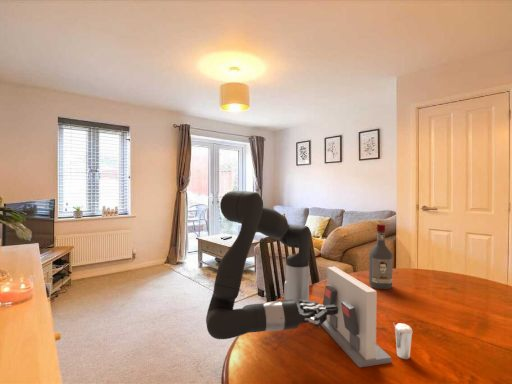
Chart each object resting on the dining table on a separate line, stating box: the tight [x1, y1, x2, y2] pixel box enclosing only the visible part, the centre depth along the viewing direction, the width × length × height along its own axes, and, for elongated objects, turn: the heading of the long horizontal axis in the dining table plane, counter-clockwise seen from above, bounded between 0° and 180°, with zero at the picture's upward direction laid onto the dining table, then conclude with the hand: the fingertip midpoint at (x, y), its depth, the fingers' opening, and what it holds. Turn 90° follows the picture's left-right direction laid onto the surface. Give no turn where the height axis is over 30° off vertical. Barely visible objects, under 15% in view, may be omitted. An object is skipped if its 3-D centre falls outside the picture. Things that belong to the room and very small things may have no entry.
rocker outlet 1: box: [322, 285, 337, 306], centre depth 97 cm, size 2×5×8 cm, turn 13°
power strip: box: [320, 266, 392, 368], centre depth 92 cm, size 10×25×20 cm, turn 12°
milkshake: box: [393, 322, 413, 360], centre depth 84 cm, size 4×5×10 cm
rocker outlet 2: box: [341, 301, 359, 336], centre depth 85 cm, size 2×5×8 cm, turn 12°
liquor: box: [368, 223, 393, 290], centre depth 140 cm, size 9×9×30 cm
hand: (336, 309), depth 84 cm, fingers closed
